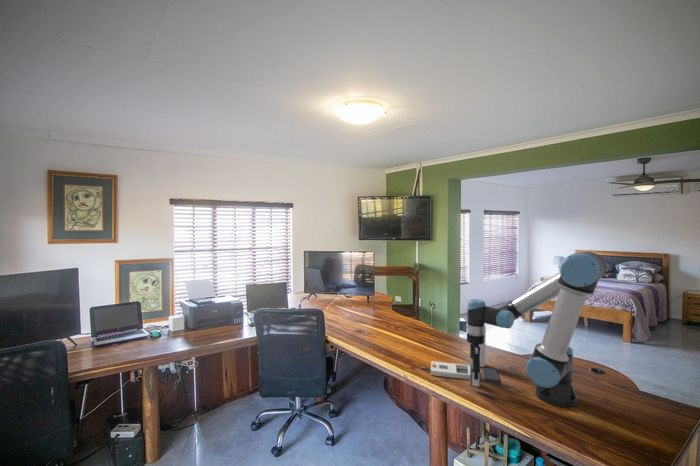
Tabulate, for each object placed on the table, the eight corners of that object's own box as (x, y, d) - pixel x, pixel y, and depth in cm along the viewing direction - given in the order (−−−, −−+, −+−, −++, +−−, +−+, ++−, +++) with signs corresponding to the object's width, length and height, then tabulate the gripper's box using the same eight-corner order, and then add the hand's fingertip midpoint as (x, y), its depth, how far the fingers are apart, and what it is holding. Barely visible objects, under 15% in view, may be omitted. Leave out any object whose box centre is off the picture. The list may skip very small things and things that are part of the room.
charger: (478, 382, 157) (479, 365, 157) (479, 386, 154) (480, 368, 153) (469, 381, 158) (470, 364, 158) (470, 385, 155) (470, 367, 154)
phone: (495, 372, 169) (495, 369, 169) (498, 383, 158) (499, 379, 158) (481, 371, 171) (481, 367, 171) (484, 381, 160) (484, 378, 160)
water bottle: (487, 365, 177) (488, 317, 177) (481, 368, 173) (482, 320, 172) (471, 360, 184) (472, 314, 183) (465, 363, 179) (466, 316, 179)
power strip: (476, 370, 171) (476, 364, 171) (478, 380, 159) (478, 374, 159) (420, 364, 178) (420, 358, 178) (419, 373, 167) (419, 367, 166)
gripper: (465, 324, 168) (463, 366, 169) (468, 342, 144) (467, 390, 145) (481, 326, 166) (479, 368, 167) (487, 344, 142) (486, 393, 143)
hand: (474, 379), depth 156 cm, fingers open, 13 cm apart
